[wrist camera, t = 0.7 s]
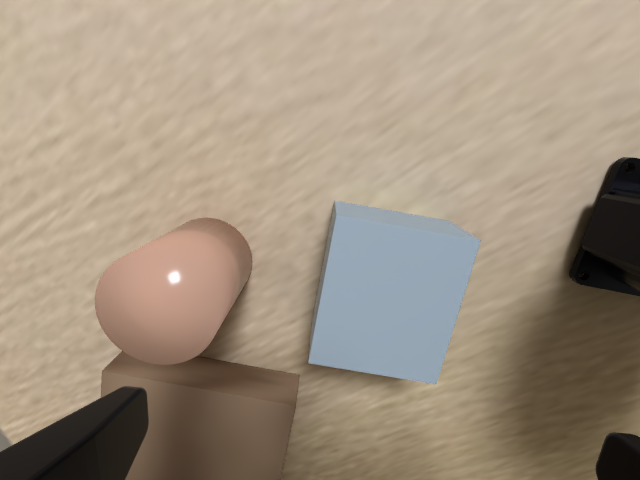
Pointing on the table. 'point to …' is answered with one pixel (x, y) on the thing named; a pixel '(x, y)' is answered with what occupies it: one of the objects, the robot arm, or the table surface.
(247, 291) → the table surface
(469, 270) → the block
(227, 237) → the peach rounded capsule
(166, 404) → the base slab
